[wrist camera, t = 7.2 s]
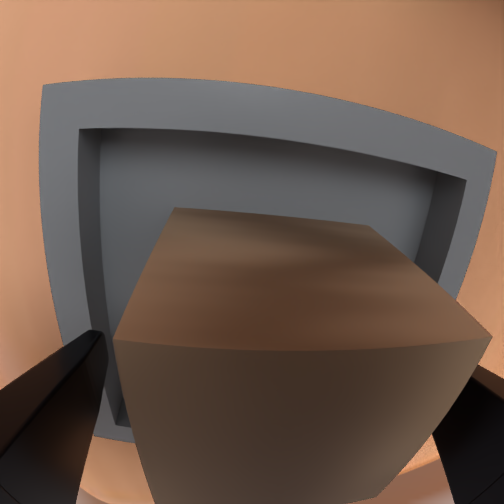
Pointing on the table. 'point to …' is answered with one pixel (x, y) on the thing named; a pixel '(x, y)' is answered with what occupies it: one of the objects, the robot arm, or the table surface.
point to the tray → (233, 184)
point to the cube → (285, 360)
